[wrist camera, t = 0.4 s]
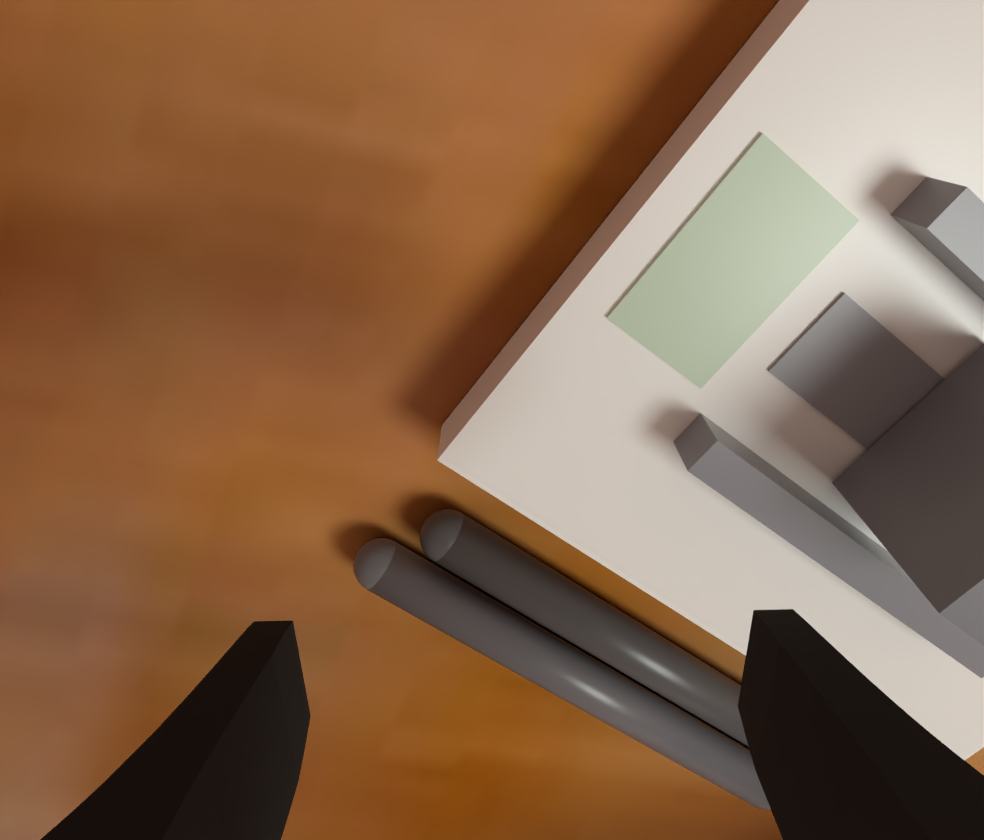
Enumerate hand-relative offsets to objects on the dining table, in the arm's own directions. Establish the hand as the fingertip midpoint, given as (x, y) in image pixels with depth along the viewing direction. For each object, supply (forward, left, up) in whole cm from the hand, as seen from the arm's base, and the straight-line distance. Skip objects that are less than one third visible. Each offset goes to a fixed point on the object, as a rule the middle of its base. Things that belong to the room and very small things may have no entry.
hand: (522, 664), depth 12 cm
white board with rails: (-9, -4, -10) cm, 14 cm away
